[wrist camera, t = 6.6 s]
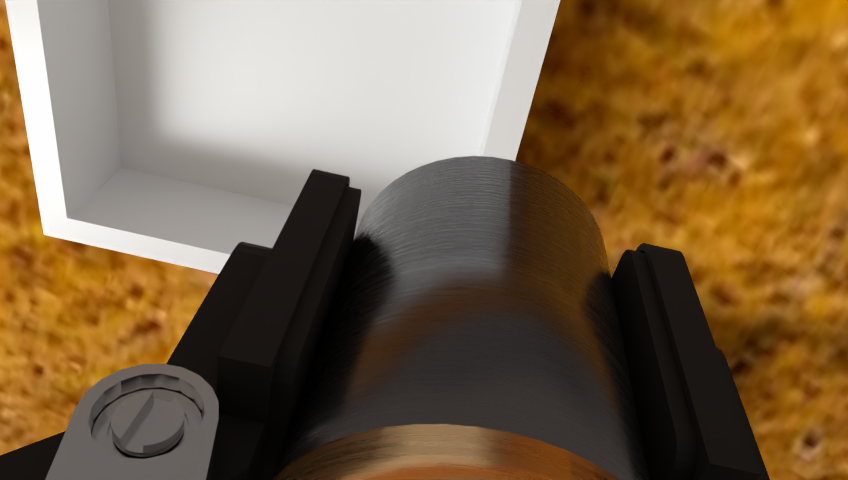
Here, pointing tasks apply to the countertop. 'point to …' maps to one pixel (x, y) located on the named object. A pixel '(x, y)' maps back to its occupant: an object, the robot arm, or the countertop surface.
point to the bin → (256, 107)
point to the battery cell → (470, 340)
